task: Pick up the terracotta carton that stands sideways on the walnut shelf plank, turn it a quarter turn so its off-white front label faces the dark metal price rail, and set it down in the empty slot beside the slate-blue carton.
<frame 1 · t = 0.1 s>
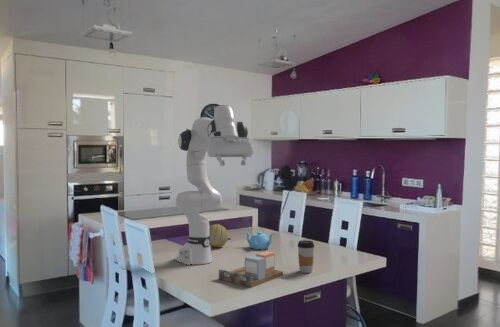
hand: (233, 165, 179), 54 cm above the table, tool tilted 30°, fingers open, 8 cm apart
coffee cup: (305, 271, 212), on the table
cantaloupe: (216, 247, 268), on the table
slate-blue carton: (251, 278, 194), point 2 cm above the table, touching shelf plank
shelf plank: (251, 277, 202), on the table
teapot: (258, 248, 265), on the table
terracotta carton: (269, 272, 203), point 2 cm above the table, touching shelf plank
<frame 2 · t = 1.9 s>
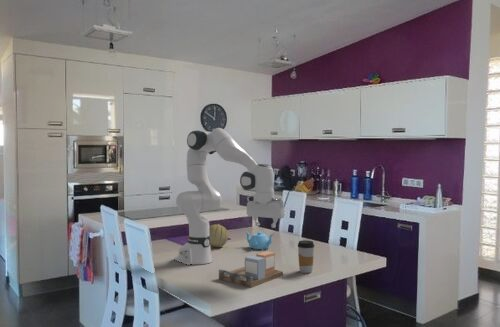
hand: (265, 226, 203), 24 cm above the table, tool pointing down, fingers open, 8 cm apart
nothing on the table moved.
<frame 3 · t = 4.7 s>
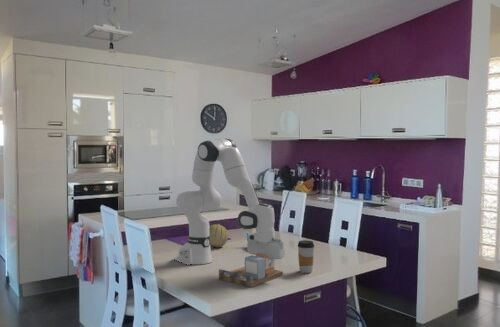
hand: (265, 265, 204), 5 cm above the table, tool pointing down, fingers closed on terracotta carton, 5 cm apart
terracotta carton: (269, 272, 203), point 2 cm above the table, touching gripper, shelf plank
everything else where it was.
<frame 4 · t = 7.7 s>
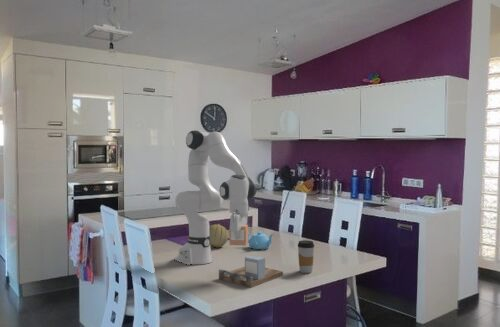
hand: (238, 237, 202), 19 cm above the table, tool pointing down, fingers closed on terracotta carton, 5 cm apart
terracotta carton: (237, 245, 200), point 16 cm above the table, touching gripper
everything else where it was.
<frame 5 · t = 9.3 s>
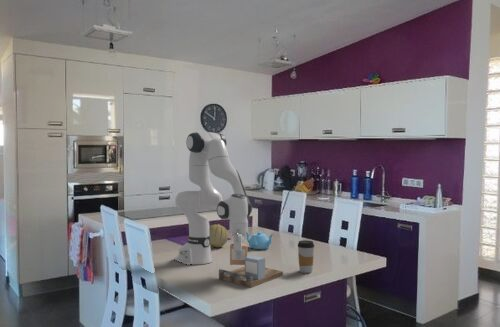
hand: (238, 257, 202), 10 cm above the table, tool pointing down, fingers closed on terracotta carton, 5 cm apart
terracotta carton: (238, 264, 199), point 7 cm above the table, touching gripper
everything else where it was.
when the fingers open (7 cm above the table, at t = 10.8 s): terracotta carton drops 1 cm, resting on shelf plank.
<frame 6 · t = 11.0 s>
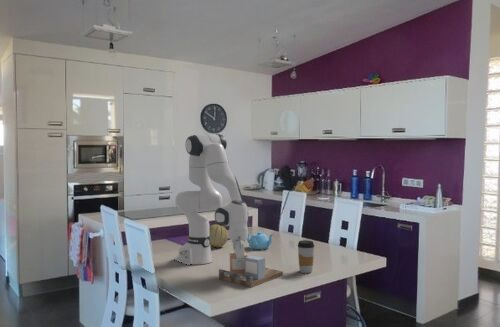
hand: (238, 263, 202), 7 cm above the table, tool pointing down, fingers open, 7 cm apart
terracotta carton: (238, 274, 200), point 2 cm above the table, touching shelf plank
everything else where it was.
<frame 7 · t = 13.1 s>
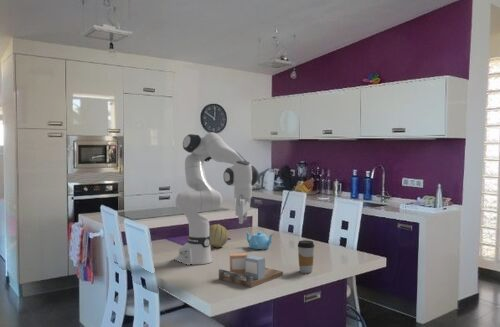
hand: (242, 221, 209), 26 cm above the table, tool pointing down, fingers open, 8 cm apart
nothing on the table moved.
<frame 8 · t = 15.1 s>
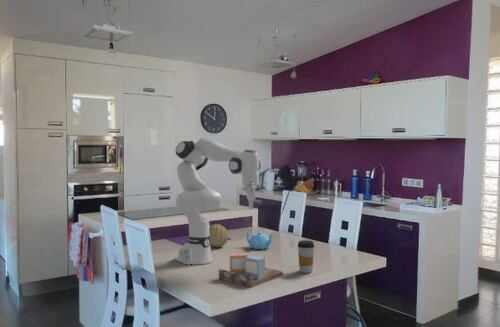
hand: (250, 208, 219), 31 cm above the table, tool pointing down, fingers open, 8 cm apart
nothing on the table moved.
at the end: terracotta carton 1.9 cm from the target spot, point 2.0 cm above the table; terracotta carton tilted 0°; the gripper is holding nothing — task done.
